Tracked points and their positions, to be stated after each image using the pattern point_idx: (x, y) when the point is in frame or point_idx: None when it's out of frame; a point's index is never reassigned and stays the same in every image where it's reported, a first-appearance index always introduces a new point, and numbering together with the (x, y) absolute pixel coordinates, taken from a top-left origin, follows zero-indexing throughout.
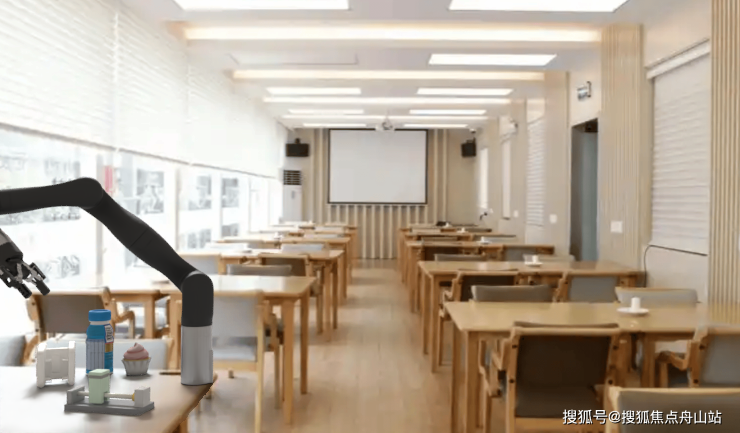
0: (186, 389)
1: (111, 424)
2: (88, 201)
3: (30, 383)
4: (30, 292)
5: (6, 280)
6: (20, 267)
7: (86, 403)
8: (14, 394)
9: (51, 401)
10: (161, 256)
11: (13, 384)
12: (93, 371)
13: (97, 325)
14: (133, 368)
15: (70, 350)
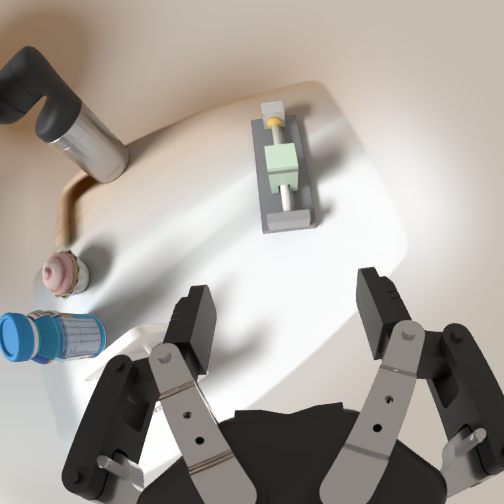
0: (150, 148)
1: (343, 127)
2: None
3: None
4: (373, 268)
5: (451, 402)
6: (350, 455)
7: (296, 196)
8: (250, 388)
9: (272, 291)
10: None
11: None
12: (290, 160)
13: (38, 332)
14: (83, 269)
15: (141, 331)
